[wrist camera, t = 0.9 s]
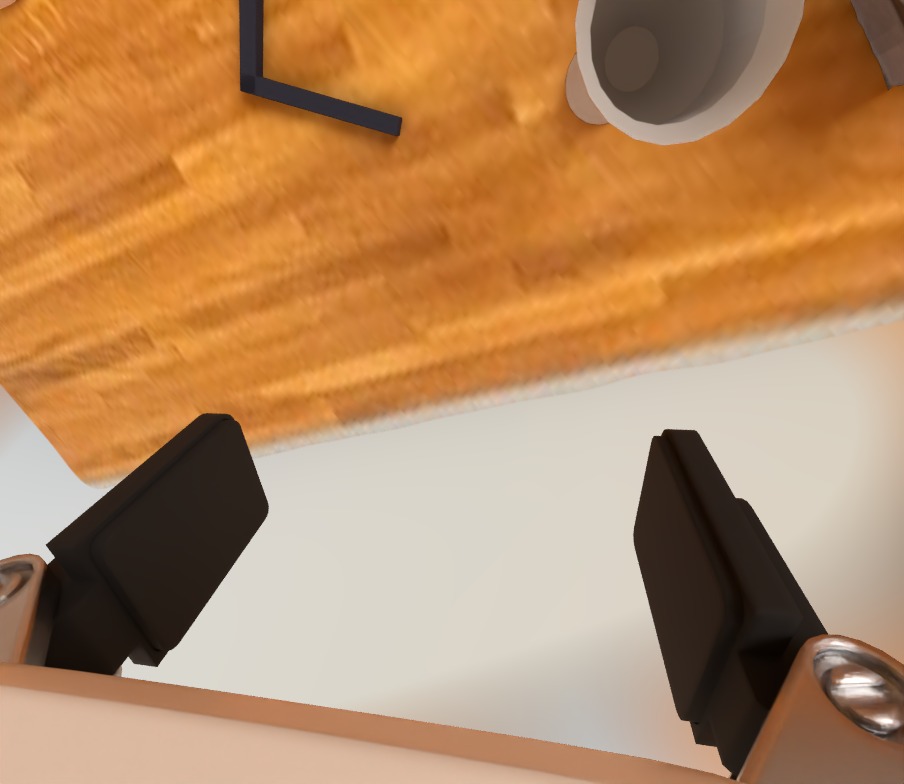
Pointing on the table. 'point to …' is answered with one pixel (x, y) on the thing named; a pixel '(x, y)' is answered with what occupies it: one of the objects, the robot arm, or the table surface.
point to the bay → (289, 94)
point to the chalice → (676, 63)
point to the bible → (884, 35)
